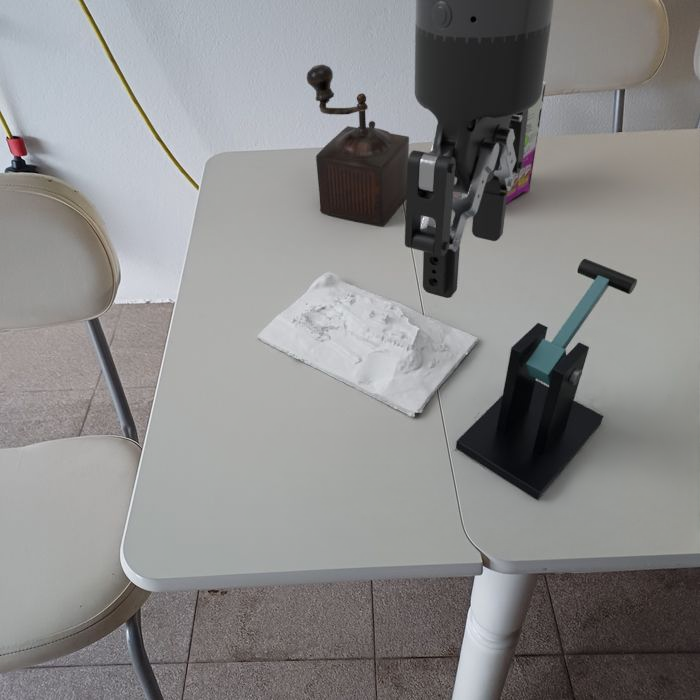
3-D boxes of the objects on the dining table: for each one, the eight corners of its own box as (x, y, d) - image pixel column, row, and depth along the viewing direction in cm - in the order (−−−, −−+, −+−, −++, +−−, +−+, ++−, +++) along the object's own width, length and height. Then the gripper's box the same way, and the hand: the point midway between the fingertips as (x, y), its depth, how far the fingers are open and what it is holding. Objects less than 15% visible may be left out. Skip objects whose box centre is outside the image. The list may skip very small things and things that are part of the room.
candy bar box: (503, 180, 101) (518, 72, 90) (530, 191, 98) (549, 81, 87) (456, 206, 96) (466, 95, 85) (483, 218, 93) (497, 105, 82)
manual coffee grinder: (411, 192, 99) (415, 72, 87) (383, 228, 92) (383, 102, 80) (322, 174, 104) (313, 58, 92) (288, 207, 97) (274, 86, 85)
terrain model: (318, 283, 85) (314, 250, 81) (486, 328, 75) (489, 293, 72) (244, 359, 74) (236, 325, 71) (428, 423, 65) (429, 387, 61)
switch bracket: (522, 381, 69) (540, 293, 61) (601, 423, 64) (632, 334, 56) (455, 448, 62) (466, 360, 54) (537, 500, 58) (562, 412, 50)
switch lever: (585, 267, 61) (585, 252, 59) (636, 287, 58) (638, 273, 56) (514, 367, 59) (511, 356, 56) (564, 393, 56) (563, 382, 54)
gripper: (500, 53, 30) (475, 331, 40) (585, -7, 39) (547, 231, 49) (361, 40, 33) (370, 300, 43) (469, -13, 42) (456, 211, 53)
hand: (464, 263), depth 46 cm, fingers open, 8 cm apart
